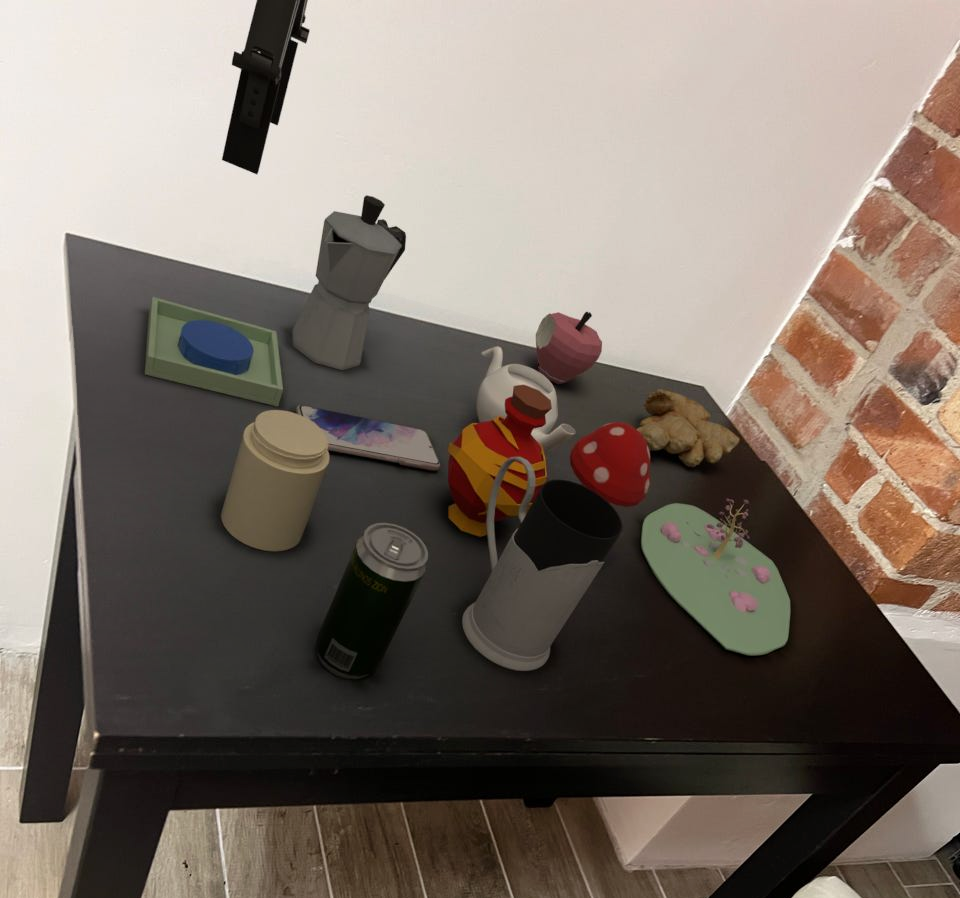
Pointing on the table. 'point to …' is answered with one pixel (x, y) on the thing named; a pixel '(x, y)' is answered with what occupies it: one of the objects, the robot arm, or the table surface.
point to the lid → (215, 346)
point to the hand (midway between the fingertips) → (252, 140)
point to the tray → (173, 366)
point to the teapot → (501, 388)
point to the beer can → (371, 600)
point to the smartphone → (374, 438)
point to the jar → (275, 480)
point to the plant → (718, 577)
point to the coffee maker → (347, 285)
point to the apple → (566, 346)
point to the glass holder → (539, 570)
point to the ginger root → (684, 429)
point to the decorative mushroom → (613, 463)
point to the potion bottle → (497, 461)
